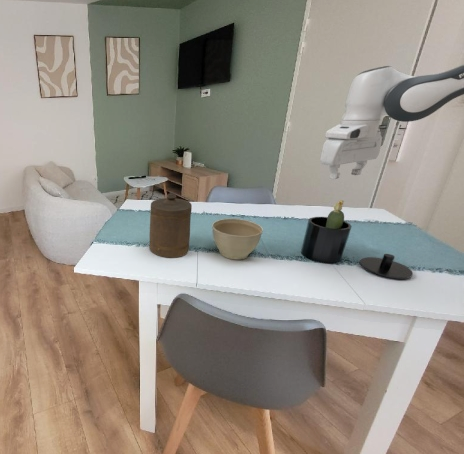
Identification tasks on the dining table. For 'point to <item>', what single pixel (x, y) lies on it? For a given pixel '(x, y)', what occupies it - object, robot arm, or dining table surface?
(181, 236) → the wooden container
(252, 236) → the planter bowl
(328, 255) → the trash can
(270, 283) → the dining table surface
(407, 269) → the bin lid
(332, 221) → the vegetable
